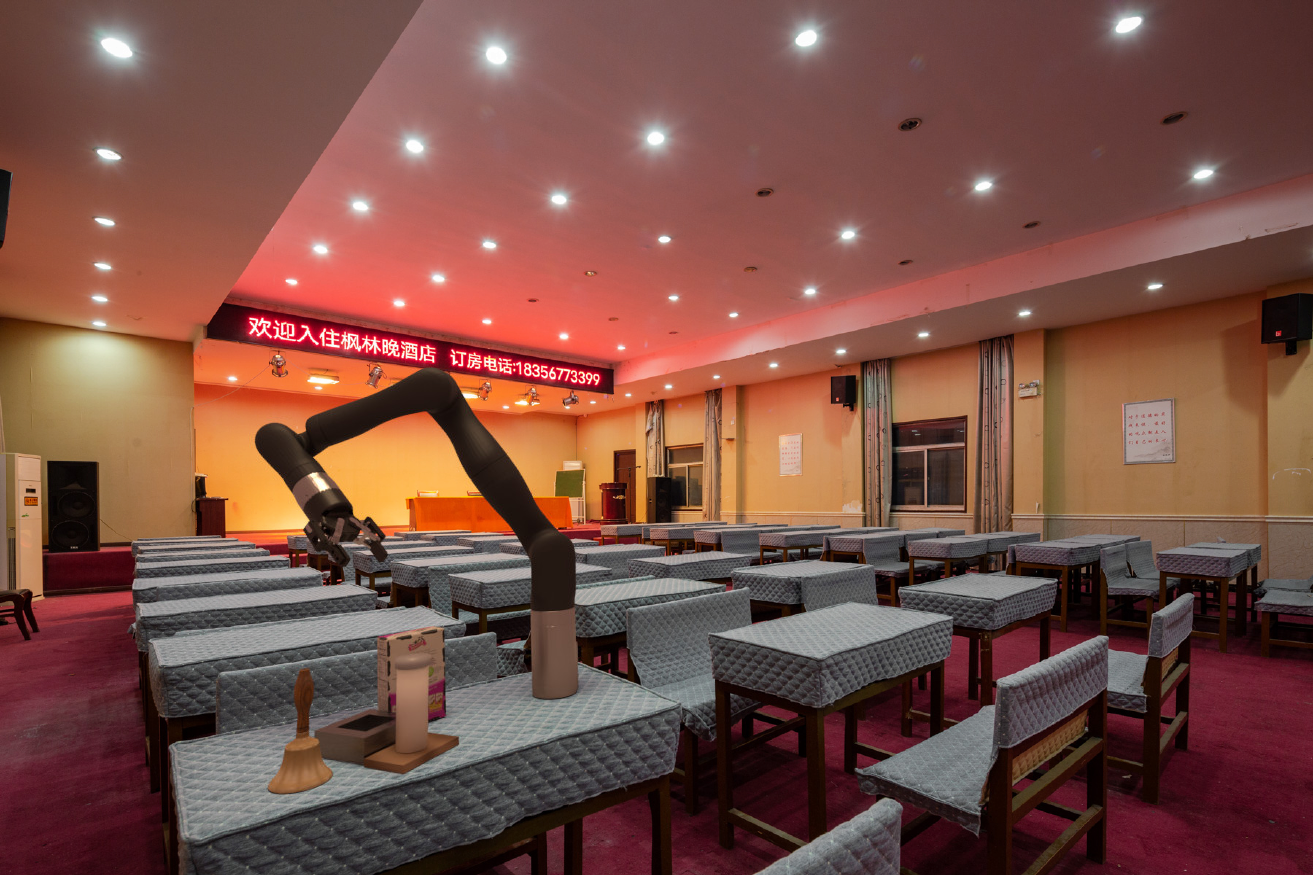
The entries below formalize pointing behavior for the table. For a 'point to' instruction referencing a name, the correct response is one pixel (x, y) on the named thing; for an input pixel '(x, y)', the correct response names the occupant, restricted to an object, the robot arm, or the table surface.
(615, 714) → the table surface
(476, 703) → the table surface
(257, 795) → the table surface
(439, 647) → the candy bar box
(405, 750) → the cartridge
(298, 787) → the hand bell
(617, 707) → the table surface
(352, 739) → the housing
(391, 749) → the board
